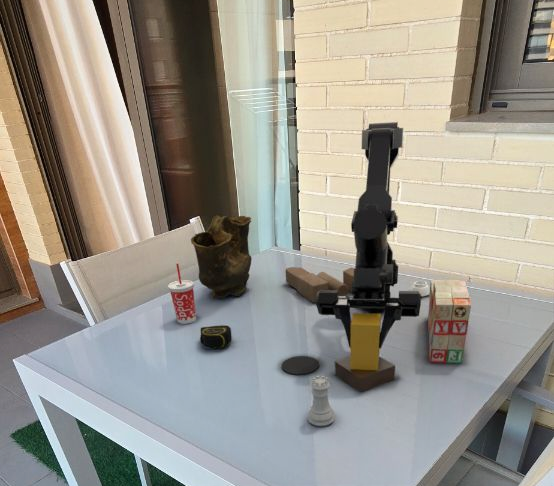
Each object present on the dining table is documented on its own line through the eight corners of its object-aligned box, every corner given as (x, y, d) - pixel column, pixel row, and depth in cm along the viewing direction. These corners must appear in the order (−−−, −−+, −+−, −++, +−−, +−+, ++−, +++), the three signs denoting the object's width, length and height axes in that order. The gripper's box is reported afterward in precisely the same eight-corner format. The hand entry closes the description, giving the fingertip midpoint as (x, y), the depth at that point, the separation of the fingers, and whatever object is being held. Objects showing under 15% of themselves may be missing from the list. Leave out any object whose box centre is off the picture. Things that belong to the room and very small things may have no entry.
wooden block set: (314, 283, 131) (283, 264, 145) (314, 305, 135) (285, 284, 149) (373, 269, 137) (338, 252, 150) (373, 291, 140) (338, 272, 154)
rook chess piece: (306, 414, 93) (304, 374, 89) (331, 412, 94) (331, 371, 89) (309, 429, 90) (308, 387, 85) (336, 426, 90) (336, 384, 85)
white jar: (413, 289, 139) (406, 296, 135) (414, 278, 137) (407, 284, 134) (432, 292, 136) (425, 298, 133) (433, 280, 135) (426, 287, 131)
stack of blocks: (427, 319, 123) (432, 265, 116) (455, 319, 122) (462, 265, 115) (429, 363, 106) (435, 303, 99) (463, 364, 105) (471, 303, 98)
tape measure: (232, 337, 122) (230, 322, 120) (232, 350, 116) (230, 334, 114) (202, 340, 122) (199, 324, 120) (200, 353, 116) (198, 337, 114)
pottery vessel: (228, 275, 158) (220, 204, 147) (263, 276, 155) (257, 204, 144) (191, 307, 139) (179, 228, 128) (230, 310, 135) (221, 229, 124)
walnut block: (335, 375, 104) (335, 361, 103) (368, 363, 107) (368, 350, 106) (360, 392, 98) (360, 378, 97) (394, 379, 101) (395, 365, 100)
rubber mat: (274, 364, 110) (274, 362, 110) (306, 353, 113) (306, 352, 113) (294, 379, 104) (294, 377, 104) (326, 367, 107) (326, 366, 107)
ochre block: (352, 356, 104) (353, 313, 99) (379, 357, 103) (381, 313, 98) (350, 369, 100) (350, 324, 95) (377, 370, 99) (379, 324, 94)
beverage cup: (169, 323, 131) (158, 266, 123) (182, 314, 136) (172, 258, 128) (191, 326, 129) (181, 268, 121) (203, 316, 133) (195, 259, 126)
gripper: (315, 246, 95) (307, 330, 92) (425, 245, 91) (420, 333, 88) (322, 275, 105) (315, 351, 103) (421, 275, 102) (416, 354, 99)
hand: (364, 347), depth 98 cm, fingers closed on ochre block, 5 cm apart
